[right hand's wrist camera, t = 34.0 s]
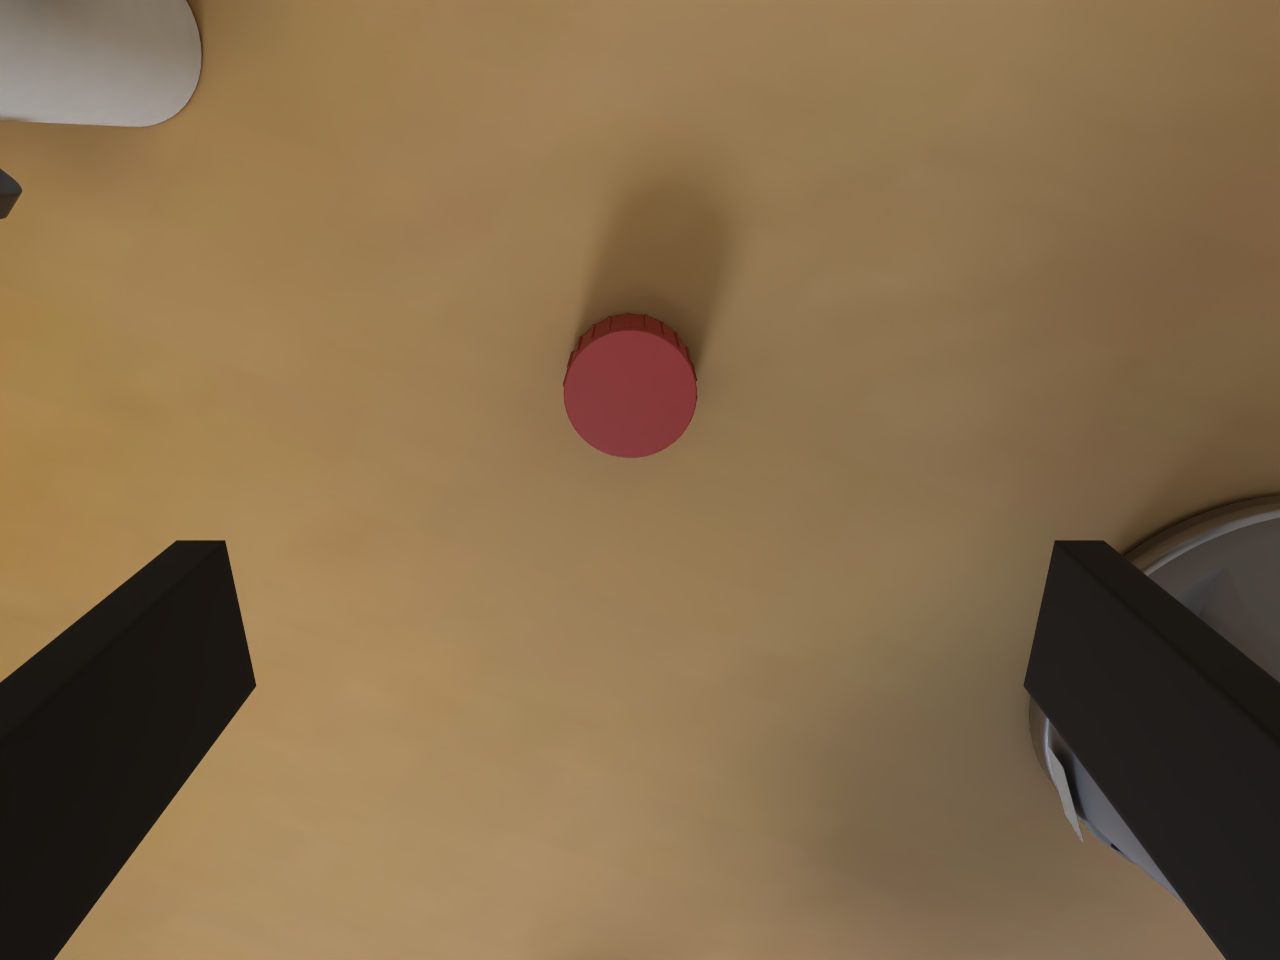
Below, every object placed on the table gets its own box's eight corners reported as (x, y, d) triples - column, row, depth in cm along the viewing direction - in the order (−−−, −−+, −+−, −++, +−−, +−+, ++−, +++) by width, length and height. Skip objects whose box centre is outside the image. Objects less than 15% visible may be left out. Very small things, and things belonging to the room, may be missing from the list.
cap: (718, 376, 25) (726, 398, 23) (628, 456, 26) (627, 485, 24) (633, 284, 24) (633, 298, 22) (542, 372, 25) (533, 393, 23)
